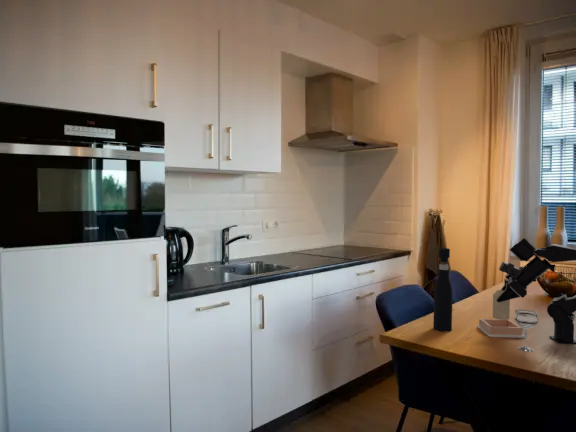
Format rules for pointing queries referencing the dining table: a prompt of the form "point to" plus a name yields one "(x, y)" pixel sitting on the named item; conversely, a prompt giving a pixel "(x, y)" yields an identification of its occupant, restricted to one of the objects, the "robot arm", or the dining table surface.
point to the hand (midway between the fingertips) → (496, 299)
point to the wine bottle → (443, 295)
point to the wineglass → (526, 324)
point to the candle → (500, 307)
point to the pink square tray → (500, 328)
